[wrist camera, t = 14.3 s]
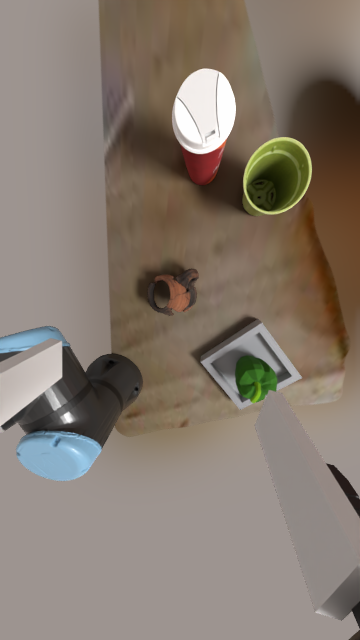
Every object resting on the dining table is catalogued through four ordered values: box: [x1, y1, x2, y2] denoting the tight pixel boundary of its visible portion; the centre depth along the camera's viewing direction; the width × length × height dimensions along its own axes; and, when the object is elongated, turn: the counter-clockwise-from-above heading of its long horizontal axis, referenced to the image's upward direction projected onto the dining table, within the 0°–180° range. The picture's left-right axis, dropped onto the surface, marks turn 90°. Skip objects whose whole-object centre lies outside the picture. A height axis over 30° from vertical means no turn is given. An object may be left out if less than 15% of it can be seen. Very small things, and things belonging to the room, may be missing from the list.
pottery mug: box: [147, 269, 199, 316], centre depth 39 cm, size 12×10×8 cm
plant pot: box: [242, 137, 312, 216], centre depth 31 cm, size 9×9×9 cm
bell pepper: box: [235, 355, 278, 403], centre depth 39 cm, size 8×8×10 cm
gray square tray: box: [201, 319, 302, 410], centre depth 43 cm, size 16×16×3 cm
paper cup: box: [172, 69, 236, 185], centre depth 28 cm, size 8×8×14 cm
